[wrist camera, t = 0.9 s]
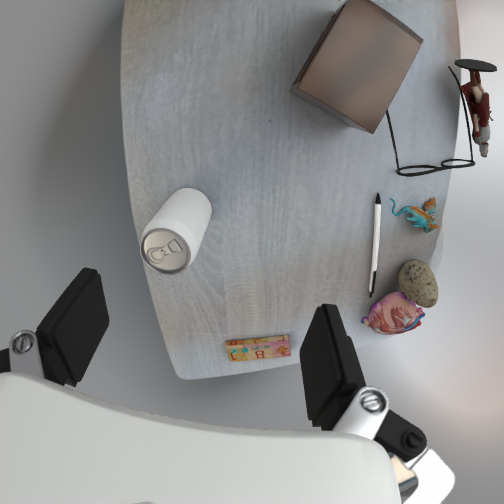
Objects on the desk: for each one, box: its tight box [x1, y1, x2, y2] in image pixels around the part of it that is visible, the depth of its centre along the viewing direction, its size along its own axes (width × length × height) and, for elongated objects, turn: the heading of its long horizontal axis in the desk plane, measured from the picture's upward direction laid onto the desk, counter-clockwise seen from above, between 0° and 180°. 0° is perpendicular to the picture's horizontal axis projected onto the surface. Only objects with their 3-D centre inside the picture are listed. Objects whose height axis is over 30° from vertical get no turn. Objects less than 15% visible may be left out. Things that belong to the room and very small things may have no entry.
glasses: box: [386, 66, 475, 177], centre depth 27 cm, size 14×15×5 cm
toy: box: [225, 335, 291, 362], centre depth 51 cm, size 12×2×5 cm
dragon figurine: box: [389, 197, 440, 233], centre depth 36 cm, size 7×7×8 cm
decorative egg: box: [398, 259, 438, 308], centre depth 37 cm, size 6×6×10 cm
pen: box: [369, 192, 381, 298], centre depth 39 cm, size 1×19×1 cm, turn 9°
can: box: [140, 188, 212, 275], centre depth 32 cm, size 6×6×12 cm
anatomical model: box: [361, 292, 425, 335], centre depth 44 cm, size 11×6×15 cm
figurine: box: [455, 59, 497, 157], centre depth 24 cm, size 7×7×15 cm
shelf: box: [289, 0, 423, 134], centre depth 23 cm, size 9×14×8 cm, turn 154°
